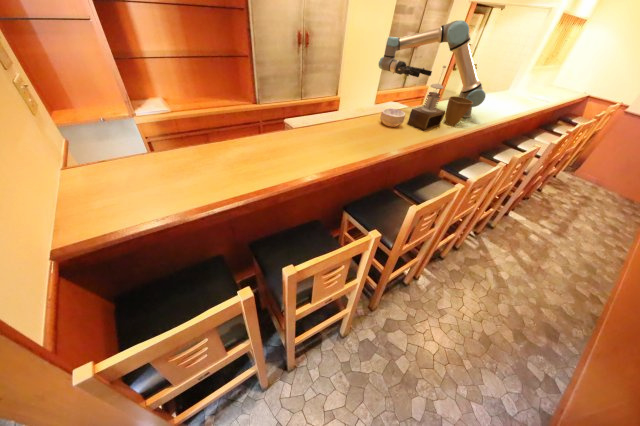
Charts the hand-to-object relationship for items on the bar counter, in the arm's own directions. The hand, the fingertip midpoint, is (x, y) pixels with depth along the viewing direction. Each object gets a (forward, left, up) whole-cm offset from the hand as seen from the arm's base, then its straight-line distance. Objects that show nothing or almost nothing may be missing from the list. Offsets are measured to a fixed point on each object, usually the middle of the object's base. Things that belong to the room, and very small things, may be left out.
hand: (425, 74), depth 153 cm
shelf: (+2, +12, -28) cm, 31 cm away
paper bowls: (+23, 0, -28) cm, 36 cm away
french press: (+2, +12, -18) cm, 22 cm away
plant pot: (-21, +19, -28) cm, 40 cm away
